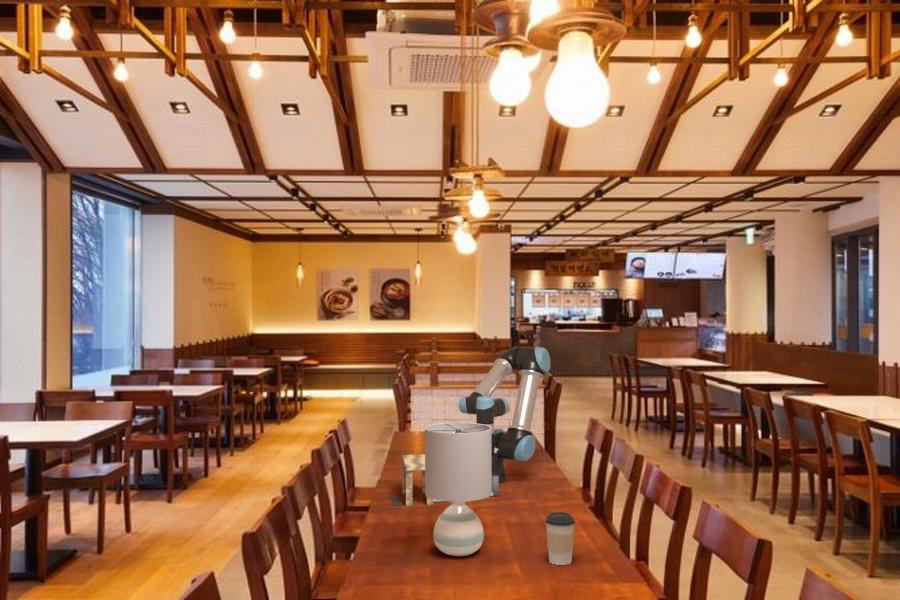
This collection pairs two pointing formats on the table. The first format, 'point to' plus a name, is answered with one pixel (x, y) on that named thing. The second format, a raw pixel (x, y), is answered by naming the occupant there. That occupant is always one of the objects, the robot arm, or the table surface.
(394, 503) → the pit mat
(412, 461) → the bridge
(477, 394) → the robot arm
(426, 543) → the table surface
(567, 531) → the coffee cup
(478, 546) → the lamp
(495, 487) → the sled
